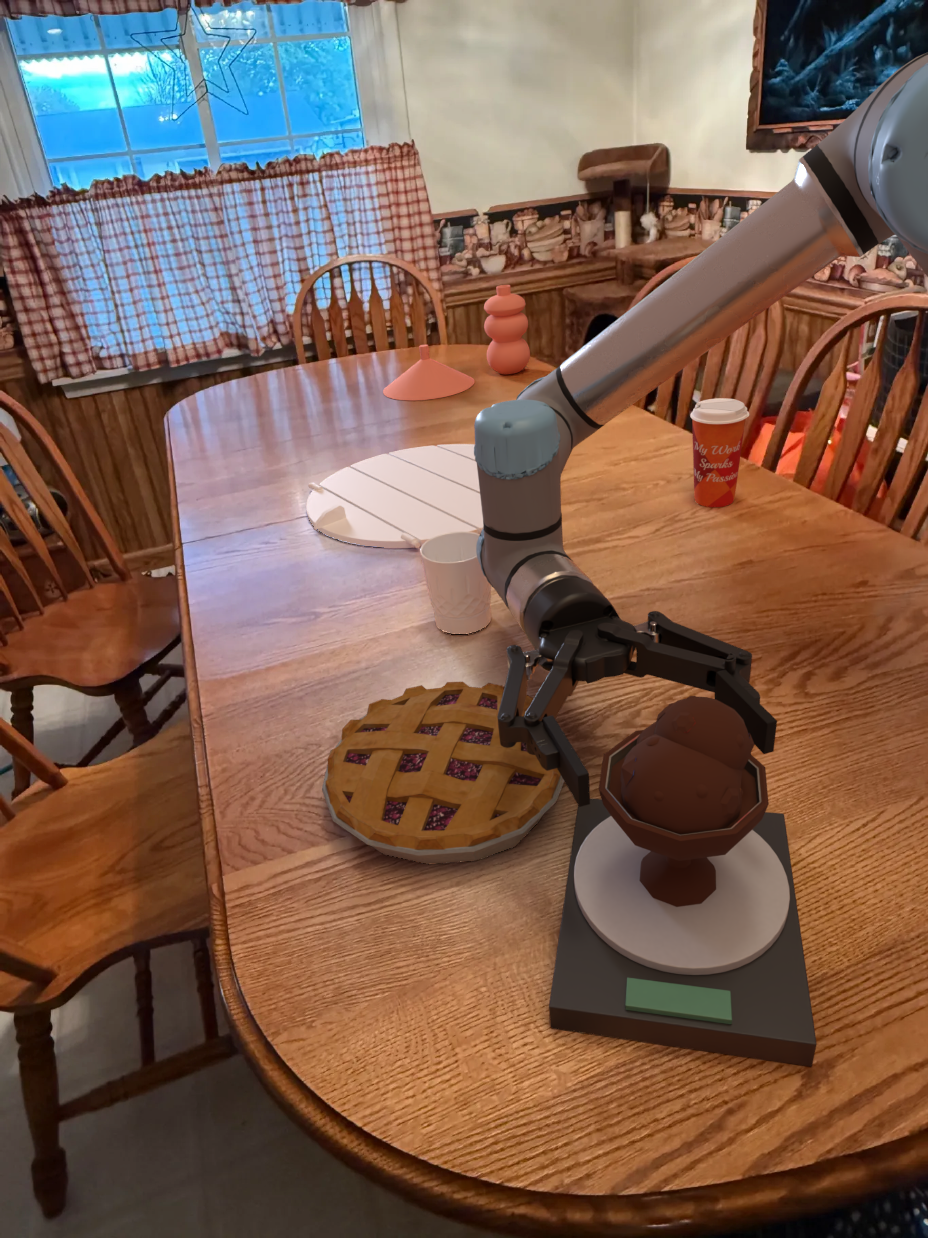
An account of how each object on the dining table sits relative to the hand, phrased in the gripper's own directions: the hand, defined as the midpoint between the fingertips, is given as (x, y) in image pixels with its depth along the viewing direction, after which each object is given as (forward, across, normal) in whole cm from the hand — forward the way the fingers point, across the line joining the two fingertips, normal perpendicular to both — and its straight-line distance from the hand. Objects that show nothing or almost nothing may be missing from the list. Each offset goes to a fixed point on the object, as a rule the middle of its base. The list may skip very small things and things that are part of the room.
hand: (679, 764), depth 54 cm
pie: (-18, +13, -13) cm, 26 cm away
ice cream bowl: (+1, 0, -10) cm, 10 cm away
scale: (+2, +1, -13) cm, 13 cm away
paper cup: (-62, -39, -13) cm, 74 cm away
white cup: (-45, +4, -14) cm, 47 cm away
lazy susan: (-86, -1, -13) cm, 87 cm away
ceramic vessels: (-147, -23, -14) cm, 150 cm away
